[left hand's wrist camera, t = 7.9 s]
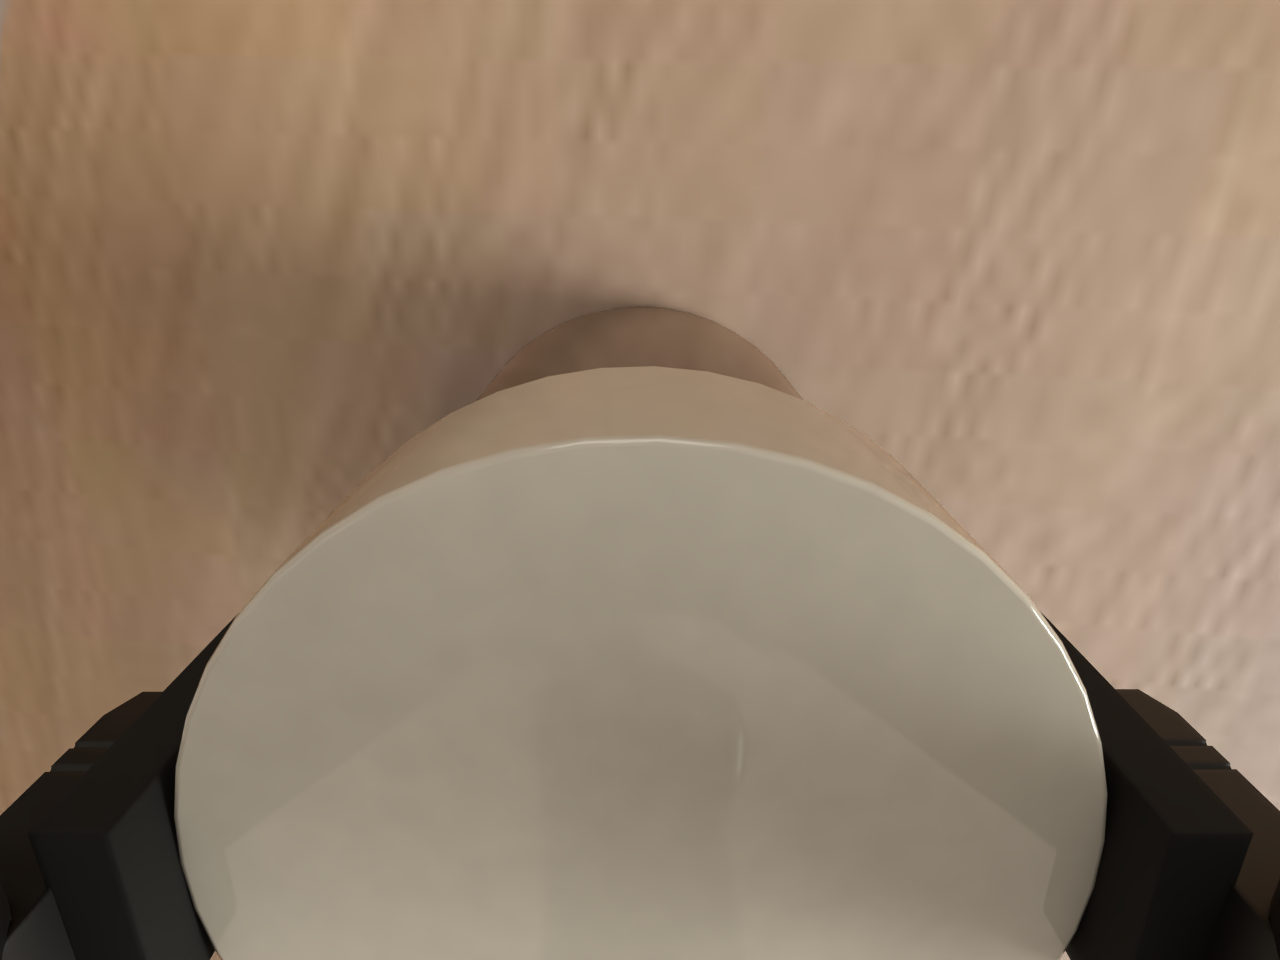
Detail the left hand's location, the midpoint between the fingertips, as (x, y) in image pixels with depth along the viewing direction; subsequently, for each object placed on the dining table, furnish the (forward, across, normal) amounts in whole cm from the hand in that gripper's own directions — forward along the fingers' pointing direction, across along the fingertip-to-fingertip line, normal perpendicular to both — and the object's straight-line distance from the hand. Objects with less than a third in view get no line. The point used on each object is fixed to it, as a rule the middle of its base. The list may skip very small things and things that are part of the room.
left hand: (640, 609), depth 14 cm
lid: (-3, 0, 0) cm, 3 cm away
